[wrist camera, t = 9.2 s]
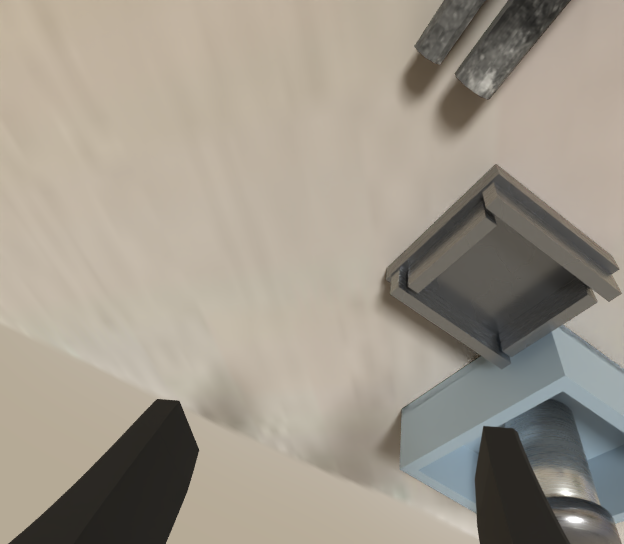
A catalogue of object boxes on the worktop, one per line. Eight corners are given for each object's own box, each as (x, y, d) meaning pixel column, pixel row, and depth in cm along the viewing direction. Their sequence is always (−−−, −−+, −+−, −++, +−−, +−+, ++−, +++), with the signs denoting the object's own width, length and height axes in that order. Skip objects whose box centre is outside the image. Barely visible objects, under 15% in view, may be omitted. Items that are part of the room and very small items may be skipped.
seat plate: (612, 256, 18) (630, 289, 17) (491, 339, 22) (497, 373, 20) (495, 164, 17) (503, 189, 15) (386, 268, 20) (383, 298, 19)
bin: (687, 415, 22) (725, 486, 19) (526, 485, 28) (538, 549, 25) (545, 312, 20) (565, 375, 17) (401, 409, 26) (399, 469, 23)
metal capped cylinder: (599, 418, 23) (646, 551, 18) (538, 452, 25) (566, 579, 20) (536, 382, 22) (567, 511, 17) (479, 420, 24) (493, 544, 20)
